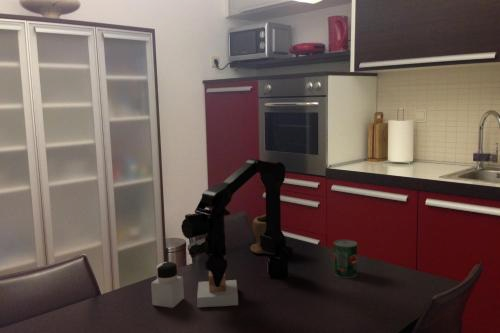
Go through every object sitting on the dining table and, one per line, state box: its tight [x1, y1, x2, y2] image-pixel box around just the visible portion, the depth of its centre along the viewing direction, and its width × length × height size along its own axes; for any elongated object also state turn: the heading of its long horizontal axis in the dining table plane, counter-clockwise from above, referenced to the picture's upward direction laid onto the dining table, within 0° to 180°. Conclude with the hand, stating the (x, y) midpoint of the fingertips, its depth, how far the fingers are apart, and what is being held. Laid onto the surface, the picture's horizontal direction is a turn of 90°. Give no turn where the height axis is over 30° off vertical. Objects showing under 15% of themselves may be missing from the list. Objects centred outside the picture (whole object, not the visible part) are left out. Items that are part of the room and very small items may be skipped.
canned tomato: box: [333, 239, 358, 279], centre depth 157 cm, size 8×8×11 cm
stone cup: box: [250, 213, 266, 254], centre depth 182 cm, size 15×12×15 cm
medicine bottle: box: [150, 261, 185, 309], centre depth 138 cm, size 7×7×12 cm
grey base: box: [196, 279, 239, 308], centre depth 140 cm, size 12×12×3 cm
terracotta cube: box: [208, 270, 227, 292], centre depth 140 cm, size 5×5×5 cm
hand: (217, 280), depth 140 cm, fingers open, 9 cm apart
